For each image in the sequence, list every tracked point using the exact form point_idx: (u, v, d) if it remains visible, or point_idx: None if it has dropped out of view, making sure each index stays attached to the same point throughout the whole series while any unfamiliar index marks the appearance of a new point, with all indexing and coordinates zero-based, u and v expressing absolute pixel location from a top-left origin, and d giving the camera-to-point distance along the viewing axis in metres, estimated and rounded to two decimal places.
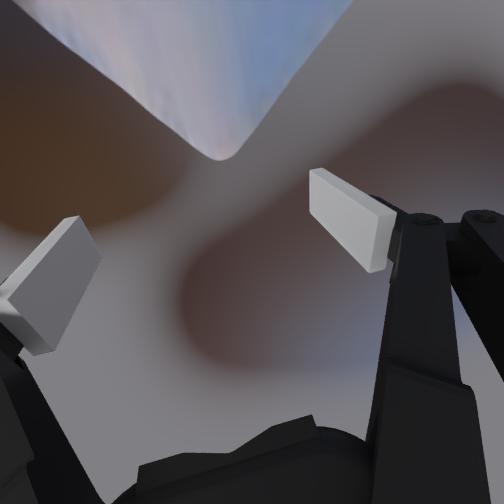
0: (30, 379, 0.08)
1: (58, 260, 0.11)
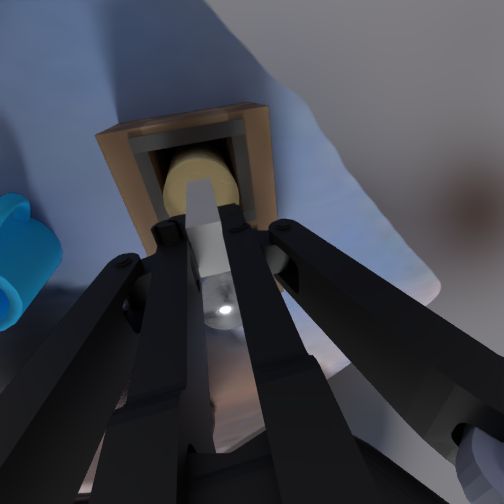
0: (201, 302, 0.10)
1: None
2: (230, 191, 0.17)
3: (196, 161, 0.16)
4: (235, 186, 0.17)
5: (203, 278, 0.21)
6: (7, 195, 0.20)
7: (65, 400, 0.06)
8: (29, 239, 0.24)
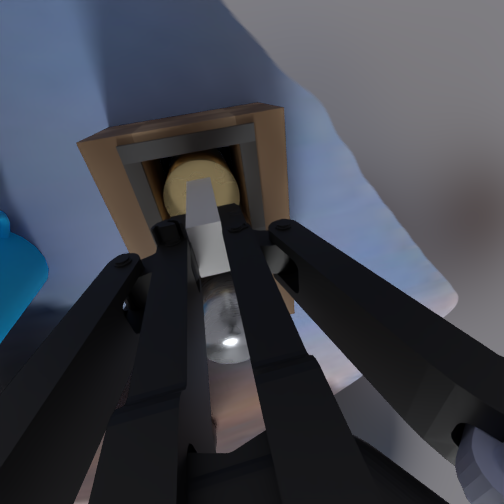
0: (201, 302, 0.10)
1: None
2: (231, 190, 0.17)
3: (196, 160, 0.16)
4: (235, 185, 0.17)
5: (206, 306, 0.19)
6: None
7: (65, 400, 0.06)
8: (8, 258, 0.21)
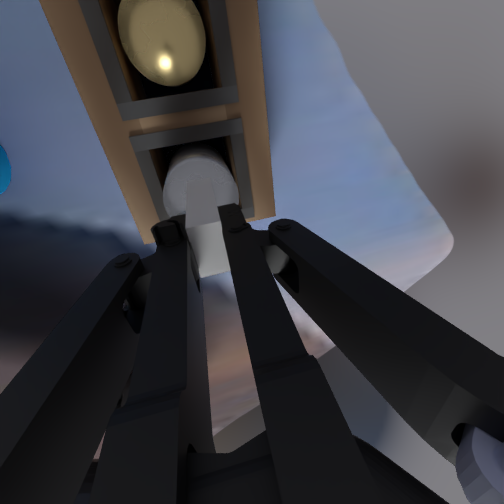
0: (201, 302, 0.10)
1: None
2: (194, 28, 0.15)
3: None
4: (200, 21, 0.15)
5: (171, 166, 0.18)
6: None
7: (65, 400, 0.06)
8: None
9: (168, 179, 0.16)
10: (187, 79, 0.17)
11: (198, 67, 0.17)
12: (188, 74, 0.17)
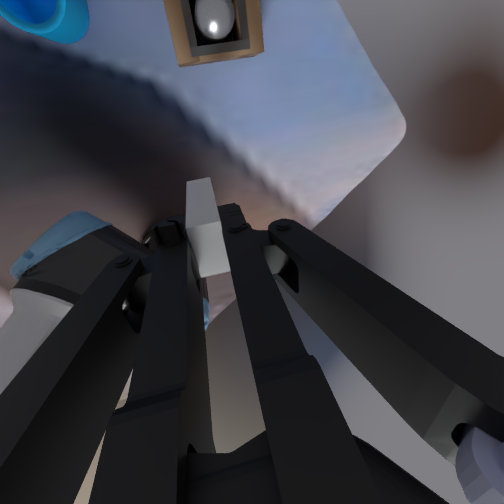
0: (201, 302, 0.10)
1: None
2: None
3: None
4: None
5: None
6: None
7: (65, 400, 0.06)
8: None
9: None
10: None
11: None
12: None
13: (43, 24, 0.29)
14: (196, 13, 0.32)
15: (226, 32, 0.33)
